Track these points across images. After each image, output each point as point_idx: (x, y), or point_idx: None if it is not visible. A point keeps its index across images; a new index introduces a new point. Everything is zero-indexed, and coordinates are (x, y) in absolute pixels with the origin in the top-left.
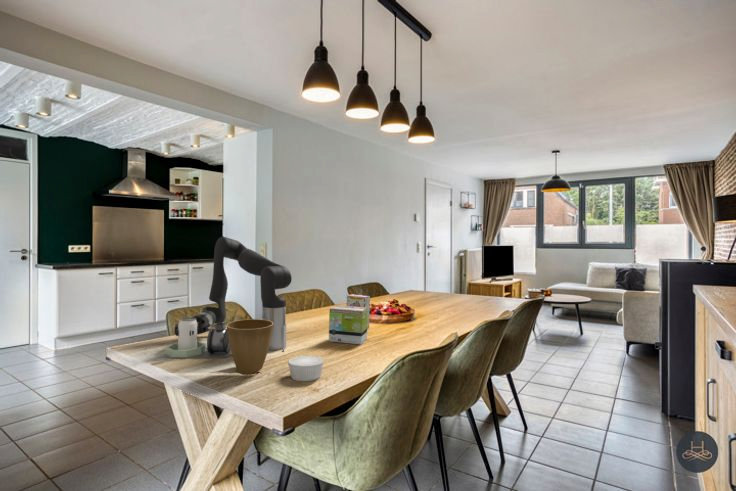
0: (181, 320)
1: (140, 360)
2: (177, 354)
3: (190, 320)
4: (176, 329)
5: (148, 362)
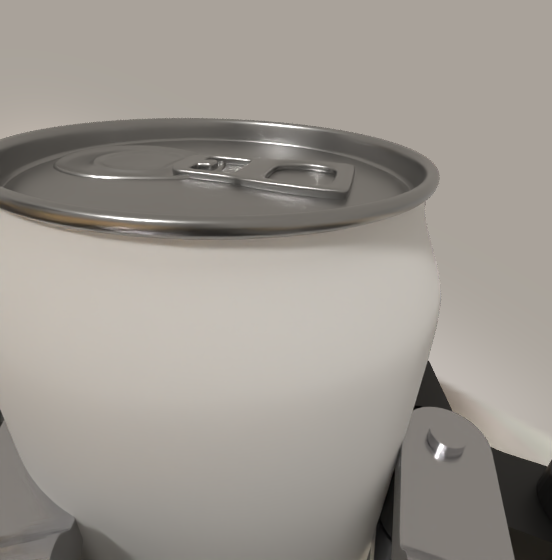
0: (313, 127)
1: (547, 440)
2: None
3: (142, 120)
4: (521, 475)
5: (445, 396)
